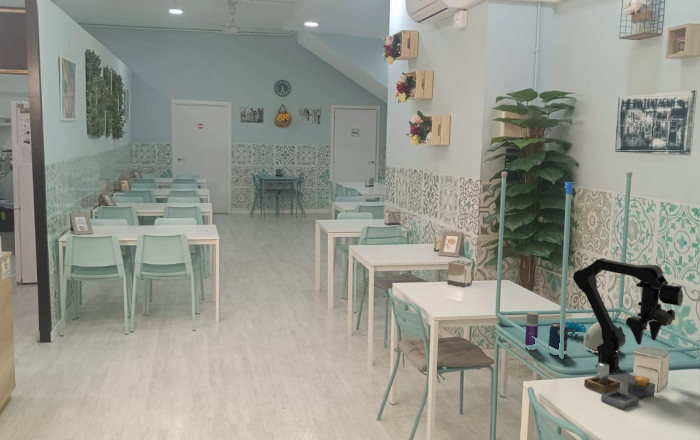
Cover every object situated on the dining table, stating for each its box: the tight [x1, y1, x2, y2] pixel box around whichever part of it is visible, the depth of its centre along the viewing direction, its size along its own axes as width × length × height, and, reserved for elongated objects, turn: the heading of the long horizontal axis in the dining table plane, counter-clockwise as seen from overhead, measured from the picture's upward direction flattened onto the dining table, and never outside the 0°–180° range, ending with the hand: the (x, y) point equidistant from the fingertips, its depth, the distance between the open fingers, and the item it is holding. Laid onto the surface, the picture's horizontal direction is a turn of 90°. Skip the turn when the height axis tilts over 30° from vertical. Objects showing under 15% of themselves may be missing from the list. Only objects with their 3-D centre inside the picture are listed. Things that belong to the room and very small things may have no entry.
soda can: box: [548, 322, 569, 351], centre depth 267 cm, size 7×7×12 cm
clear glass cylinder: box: [596, 362, 610, 386], centre depth 233 cm, size 4×4×8 cm
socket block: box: [600, 379, 656, 410], centre depth 224 cm, size 8×19×4 cm, turn 125°
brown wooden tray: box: [583, 375, 621, 395], centre depth 234 cm, size 8×8×2 cm
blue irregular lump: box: [564, 321, 587, 335], centre depth 289 cm, size 11×6×10 cm
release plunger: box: [634, 375, 651, 386], centre depth 228 cm, size 5×5×5 cm
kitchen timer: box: [583, 321, 603, 351], centre depth 273 cm, size 14×14×15 cm
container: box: [524, 311, 539, 345], centre depth 272 cm, size 5×5×15 cm
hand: (646, 342), depth 243 cm, fingers open, 9 cm apart
